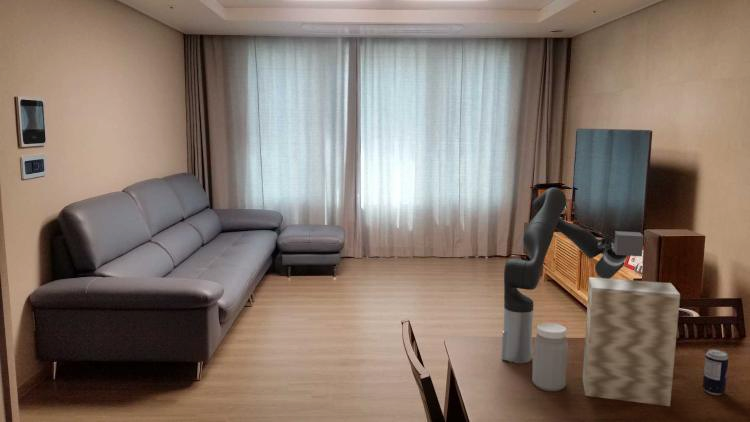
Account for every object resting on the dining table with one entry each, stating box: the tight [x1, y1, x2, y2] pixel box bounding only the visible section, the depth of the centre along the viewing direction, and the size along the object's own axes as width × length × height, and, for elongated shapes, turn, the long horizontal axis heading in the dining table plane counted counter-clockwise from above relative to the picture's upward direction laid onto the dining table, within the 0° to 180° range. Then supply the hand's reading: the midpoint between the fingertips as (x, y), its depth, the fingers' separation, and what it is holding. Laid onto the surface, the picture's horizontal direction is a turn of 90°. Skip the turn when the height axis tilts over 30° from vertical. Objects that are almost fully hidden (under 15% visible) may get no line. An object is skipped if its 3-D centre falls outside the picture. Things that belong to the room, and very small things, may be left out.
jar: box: [531, 322, 569, 392], centre depth 168 cm, size 10×10×18 cm
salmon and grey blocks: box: [614, 230, 644, 257], centre depth 177 cm, size 20×7×6 cm, turn 164°
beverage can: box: [701, 348, 730, 396], centre depth 165 cm, size 6×6×12 cm
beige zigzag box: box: [582, 276, 681, 407], centre depth 163 cm, size 22×11×32 cm, turn 74°
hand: (623, 236), depth 181 cm, fingers closed on salmon and grey blocks, 3 cm apart
